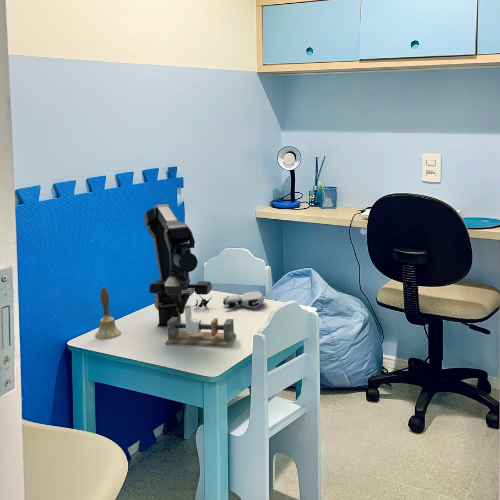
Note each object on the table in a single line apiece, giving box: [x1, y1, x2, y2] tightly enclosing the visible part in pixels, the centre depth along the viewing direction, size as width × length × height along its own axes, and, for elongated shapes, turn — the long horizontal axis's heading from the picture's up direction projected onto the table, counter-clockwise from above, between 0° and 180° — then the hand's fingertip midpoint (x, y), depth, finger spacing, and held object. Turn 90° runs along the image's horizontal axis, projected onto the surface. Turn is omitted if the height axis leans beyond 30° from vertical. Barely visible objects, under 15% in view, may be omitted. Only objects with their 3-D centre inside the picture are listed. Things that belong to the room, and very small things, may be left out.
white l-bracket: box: [184, 304, 202, 334], centre depth 202 cm, size 4×4×8 cm
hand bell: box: [94, 286, 122, 340], centre depth 210 cm, size 8×8×16 cm
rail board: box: [165, 317, 237, 348], centre depth 202 cm, size 20×10×7 cm, turn 79°
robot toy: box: [222, 290, 265, 309], centre depth 237 cm, size 12×4×15 cm
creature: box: [191, 294, 213, 313], centre depth 234 cm, size 8×5×8 cm
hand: (181, 313), depth 202 cm, fingers closed
